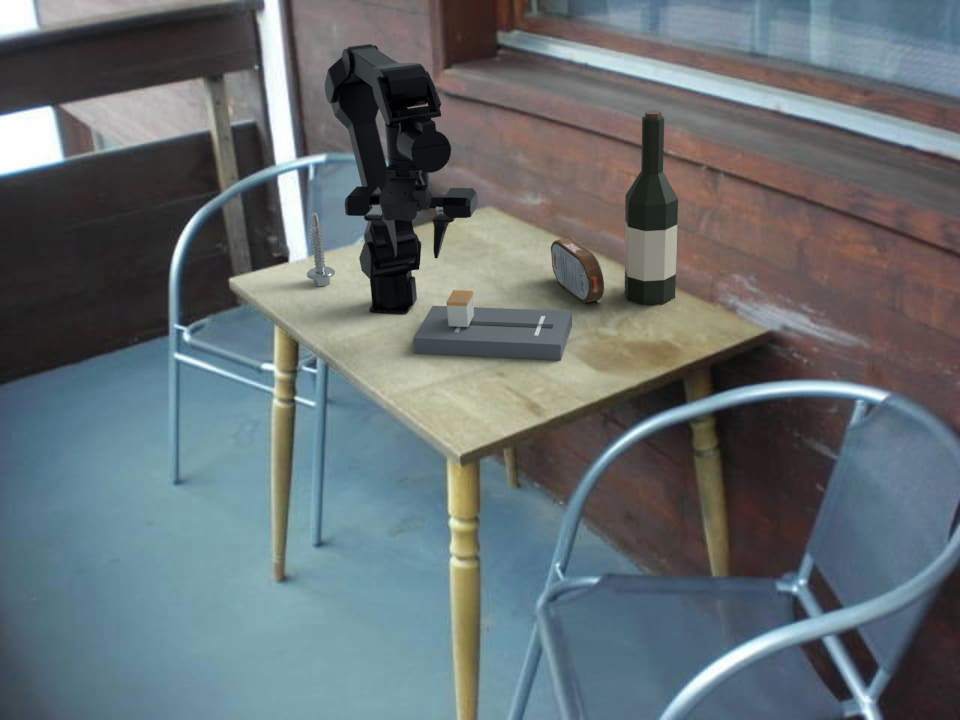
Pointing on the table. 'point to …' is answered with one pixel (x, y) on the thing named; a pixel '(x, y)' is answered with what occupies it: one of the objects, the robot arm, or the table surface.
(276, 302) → the table surface
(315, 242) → the screw
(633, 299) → the wine bottle
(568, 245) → the tin
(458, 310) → the fader
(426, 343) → the fader board
